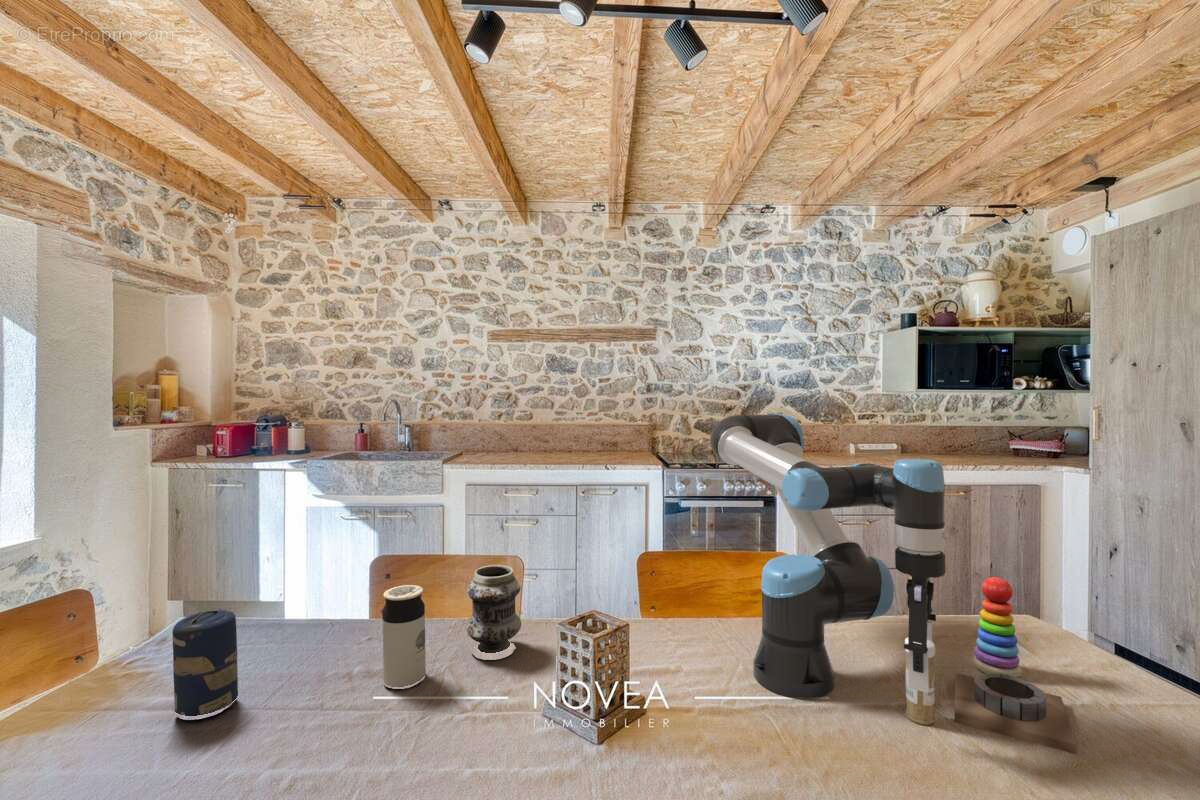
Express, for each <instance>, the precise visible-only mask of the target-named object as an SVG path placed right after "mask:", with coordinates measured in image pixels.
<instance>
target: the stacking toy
mask: <svg viewBox="0 0 1200 800" xmlns="http://www.w3.org/2000/svg"><path fill="white" fill-rule="evenodd" d="M981 585H982V586H981V590H982V591H981V592H982V594H983V595H984V597H985V598H986V599H983V601H982V602H981V605H982V609H981V610H980V611H979V616H980V619H979V621H978V625H979V628H978V629H977V636H978V637H977V639H976V646H975V647H974V649H973V651H974V652H973V653H974V656H973V660H972V662H973V665H974V666H975V667H976V669H978V670H979V671H981V672H982V673H983V674H984V673H998V674H1004V675H1008V676H1013V677H1015V678H1019V677H1020V676H1021V675H1022V672H1023V671H1022V668H1021V667H1022V666H1021V665H1019V664H1020V657H1019V656H1018V655H1019V652H1020V650H1019V647H1018V645H1017V644H1018V637H1017V636H1016V634H1015V632H1016V627H1015V625H1014V623H1013V622H1014V616H1013V615H1012V612H1013V607H1012V605H1011V604H1010V603H1009V601H1010V600H1011V599H1012V597H1013V593H1014V592H1013V588H1012V586H1011V584H1010V583H1009V582H1008V581H1007V580H1005V579H1003V578H1001V577H998V576H997V577H996V576H991V577H987V578H986V579H985V580H984V581H983V582H982V584H981Z"/></svg>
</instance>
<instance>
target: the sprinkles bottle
mask: <svg viewBox="0 0 1200 800" xmlns="http://www.w3.org/2000/svg"><path fill="white" fill-rule="evenodd" d="M913 643H917V642H913ZM904 644H908V637H905V638H904ZM917 644H921V643H917ZM927 648H928V678H929V693H927V692H923V691H918V690H914V689H910V688H909V650H908V649H904V650H905V697H906V710H905V714H906V715H905V716H907V718H908V719H910V721H912V722H914V723H917V724H920V725H924V726H925V725H927V726H929V725H933V724H934V723H935V722H936V716H935V715H936V714H935V702H936V697H935V696H936V695H935V693H936V692H935V691H936V690H935V689H936V688H935V660H934V659H935V656H936V645H935V643H934V642H933V640H932V641H930V640H928V639H927Z"/></svg>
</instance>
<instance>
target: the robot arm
mask: <svg viewBox="0 0 1200 800" xmlns="http://www.w3.org/2000/svg"><path fill="white" fill-rule="evenodd" d="M804 435H805V434H804V431H803V429H802V427H801V425H800V423H799V421H797V420H796V419H795V418H794V417H792V416H790V415H788V414H784V413H783V414H781V413H768V414H733V415H729V416H727V417H724V418H722V419H721V420H720V421H718V422H717V423H716V424H715V425H714V427H713V429H712V430H711V433H710V438H709V442H710V443H709V444H710V448H711V450H712V452H713V454H714V455H715V456H716V457H717V458H718V459H719V460H720V461H722V462H724V463H726V464H728V465H730V466H739V467H741V468H743V470H744V469H745V470H746V471H748V472H749V473H752V474H753V475H755V476H756V477H758V478H760V479H762V480H763V481H765V482H766V483H769V484H771V485H773V486H774V488H775V490H776V491H777V493H778V496H779V498H780V499H781V502H782V503H783V506H784V507H785V509H786V511H787V513H788V515H789V517H790V520H791V521H792V523H793V525H794V526H795V529H796V531H797V532H798V534H799V536H800V538H801V540H802V542H803V545H804V546H805V548H806V550H807V552H808V554H809V555H807V554H798V555H796V554H786V555H785V554H784V555H780V556H777V557H774V558H771V559H769V560H768V561H767V562H766V563H765V564H764V566H763V568H762V571H761V582H760V589H761V619H762V620H761V627H762V629H761V638H760V642H759V644H758V646H757V649H756V650H757V651H756V653H755V655H754V658H753V677H754V679H755V680H756V681H757V682H758V683H759V684H760V685H761V686H762V687H764V688H765V689H768V690H769V691H771V692H774V693H776V694H779V695H782V696H787V697H789V698H790V697H791V698H796V699H797V698H798V699H813V698H814V699H815V698H820V697H823V696H826V695H828V694H830V693H831V692H832V691H833V690H834V687H835V673H834V668H833V666H832V663H831V660H830V657H829V653H828V651H827V648H826V645H825V625H828V624H837V623H845V622H853V621H860V620H863V621H866V620H871V619H873V618H878V617H881V616H884V615H885V614H886V613H888V612H889V610H890V609H891V607H892V605H893V603H894V599H895V597H894V595H895V594H894V593H895V585H894V579H893V576H892V573H891V571H890V569H889V568H888V566H887V565H886V563H885V562H884V561H883V560H882V559H878V558H877V557H875V556H867V555H866V554H865V552H864V550H863V548H862V547H861V545H860V544H859V543H858V542H857V541H854V540H850V539H848V537H847V536H846V534H845V532H844V531H843V529H842V527H841V525H840V524H839V522H838V520H837V519H836V517H835V515H834V513H833V511H832V510H831V509H840V508H854V507H857V508H859V507H868V506H869V507H870V506H871V507H872V506H876V507H881V508H886V509H890V510H894V525H893V527H894V529H893V530H894V531H893V532H894V545H895V546H896V548H895V549H894V553H895V554H894V555H895V556H894V558H895V560H894V561H895V562H894V567H895V568H896V570H897V571H898V572H900V573H902V574H906V575H909V576H910V578H908V579H907V582H906V586H905V587H906V594H907V603H906V604H907V609H908V634H907V635H908V644H905V643H903V649H904V650H905V649H908V650H909V688H910V689H914V690H918V691H923V692H927V693H929V678H928V648H927V639H928V640H930V641H932V642H933V622H936V621H937V614H934V613H932V612H933V608H932V601H933V597H934V592H935V589H934V588H935V586H934V585H935V584H934V582H931V578H934V579H935V578H940V577H943V576H945V574H946V572H947V571H946V554H945V553H944V552H943V551H944V550H945V548H946V542H945V539H949V538H950V533H948V532H945V526H946V525H945V524H946V523H945V493H946V492H945V490H946V484H945V477H944V467H943V465H942V464H941V462H939V461H937V460H933V459H923V458H901V459H897V460H895V461H894V463H893V467H890V466H883V465H878V464H874V463H868V462H867V463H862V462H861V463H860V462H859V463H857V462H856V463H853V464H852V465H850V466H832V467H823V466H818V465H816V464H814V463H813V462H810V461H808V460H806V459H803V458H802V457H803V455H804V448H805V438H804V437H803V436H804ZM932 621H933V622H932ZM913 642H917V643H921V644H917V643H913Z"/></svg>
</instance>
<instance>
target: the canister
mask: <svg viewBox="0 0 1200 800" xmlns="http://www.w3.org/2000/svg"><path fill="white" fill-rule="evenodd" d="M237 635H238V634H237V618H236V614H235V613H234V612H233V611H231V610H225V609H212V610H205V611H201V612H198V613H194V614H191V615H188V616H186V617H184V618H183V619H181V620H179V621H178V622H176V623H175V624H174V626H173V627H172V657H173V658H172V659H173V663H172V666H173V667H172V669H173V676H172V677H173V696H174V713H175V712H176V713H178V714H180V715H185V716H197V715H204V714H208V713H212V712H215V711H217V710H220V709H222V708H225V707H226V706H228V705H230V704H231V703H232V702H233V701H234V700H235V699H236V698H237V699H238V697H237V696H239V685H238V684H239V683H238V682H239V681H238V680H239V679H238V678H239V677H238V669H239V668H238V638H237ZM237 699H236V700H237Z"/></svg>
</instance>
